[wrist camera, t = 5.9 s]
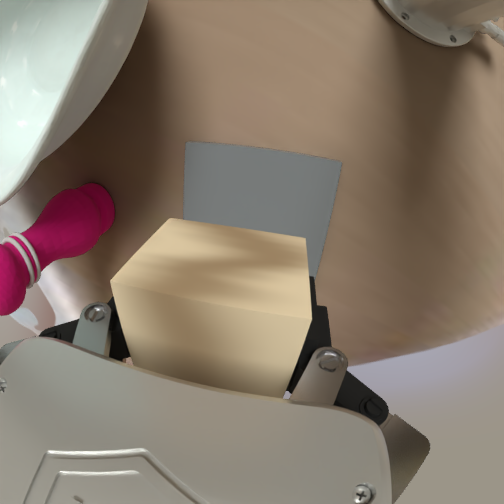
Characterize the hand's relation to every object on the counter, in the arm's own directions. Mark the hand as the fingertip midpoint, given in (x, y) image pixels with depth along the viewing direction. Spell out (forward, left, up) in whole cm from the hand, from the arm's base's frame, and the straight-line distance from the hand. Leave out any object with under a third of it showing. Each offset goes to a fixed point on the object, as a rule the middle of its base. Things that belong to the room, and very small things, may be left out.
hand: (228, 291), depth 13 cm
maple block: (0, 0, -1) cm, 1 cm away
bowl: (+23, -18, -15) cm, 33 cm away
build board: (0, +8, -15) cm, 17 cm away
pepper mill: (+19, +3, -15) cm, 25 cm away
